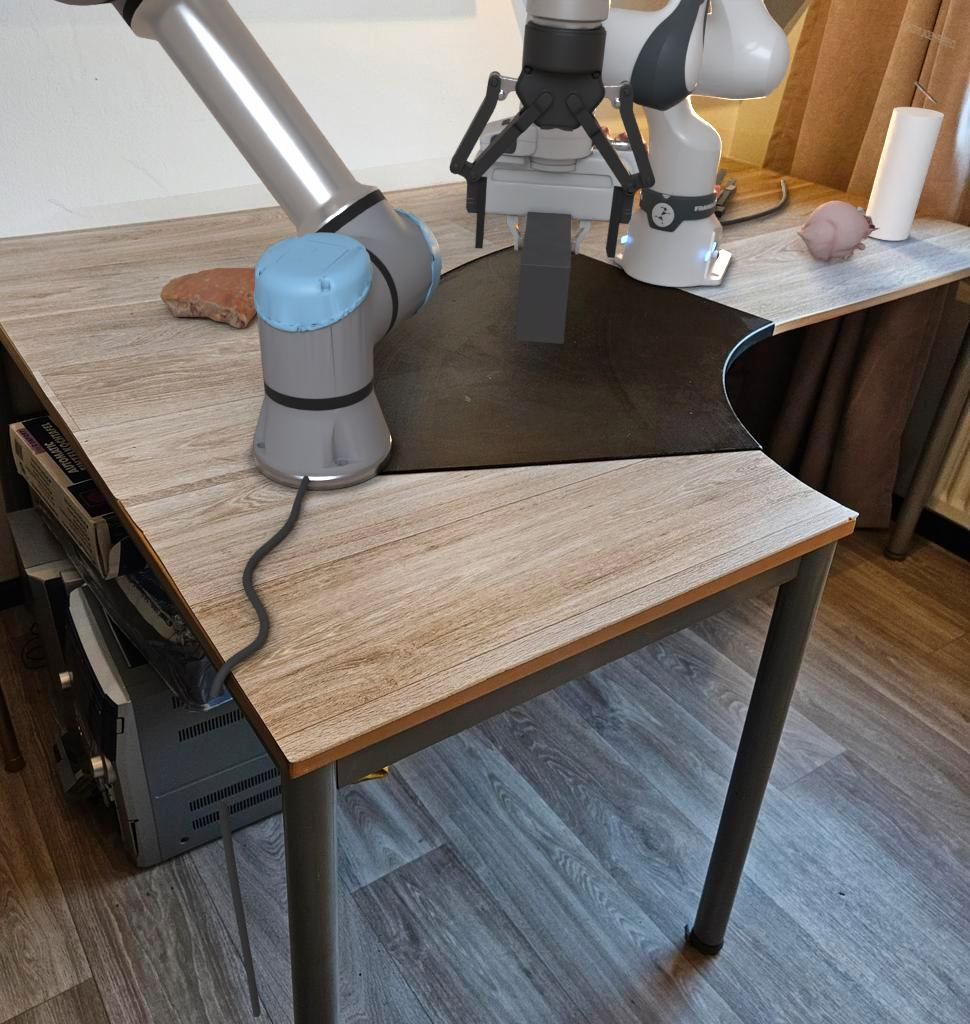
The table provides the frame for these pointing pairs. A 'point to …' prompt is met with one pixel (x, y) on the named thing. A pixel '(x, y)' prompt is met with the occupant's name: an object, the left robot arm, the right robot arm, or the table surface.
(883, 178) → the tall white tube
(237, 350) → the table surface
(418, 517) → the table surface
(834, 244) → the toy
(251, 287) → the ceramic shard
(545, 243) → the bar
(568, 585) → the table surface
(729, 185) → the toy
